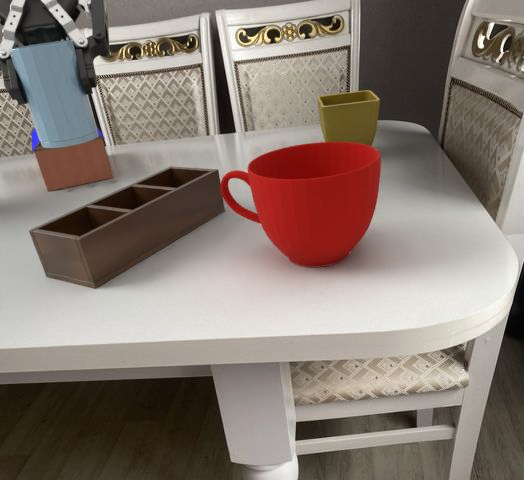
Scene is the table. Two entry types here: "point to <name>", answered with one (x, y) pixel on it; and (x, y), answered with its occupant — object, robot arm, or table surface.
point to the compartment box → (127, 225)
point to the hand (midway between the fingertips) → (54, 93)
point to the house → (72, 163)
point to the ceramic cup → (312, 198)
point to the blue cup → (55, 93)
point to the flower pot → (349, 117)
